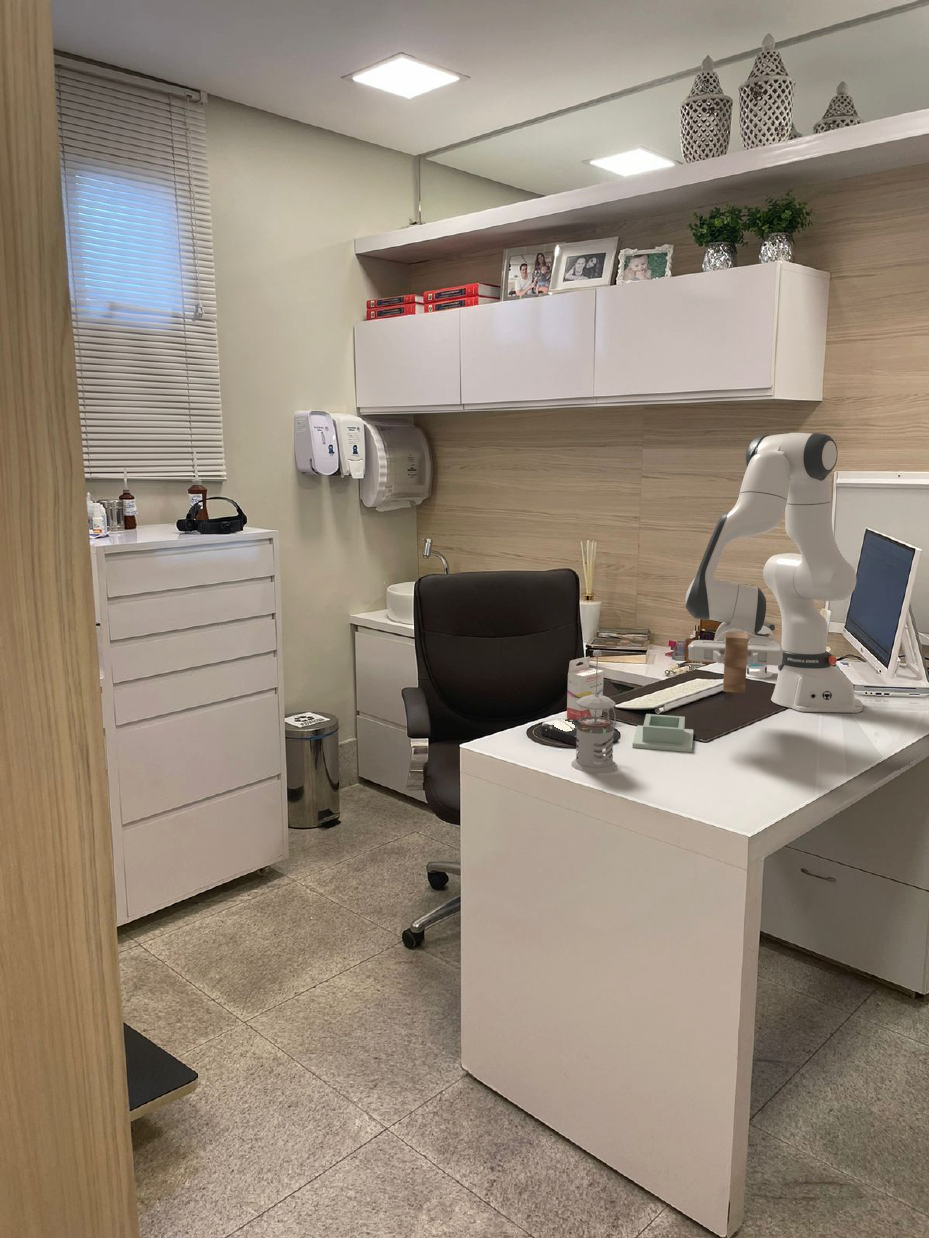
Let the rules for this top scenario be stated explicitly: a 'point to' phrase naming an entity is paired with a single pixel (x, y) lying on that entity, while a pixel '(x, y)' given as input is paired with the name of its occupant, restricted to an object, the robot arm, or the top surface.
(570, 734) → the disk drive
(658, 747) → the socket dock
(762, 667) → the panda figurine
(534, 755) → the top surface
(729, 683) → the walnut block
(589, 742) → the french press
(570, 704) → the ink cartridge box
